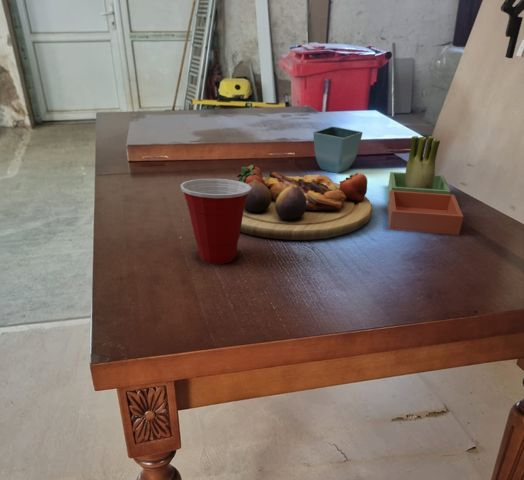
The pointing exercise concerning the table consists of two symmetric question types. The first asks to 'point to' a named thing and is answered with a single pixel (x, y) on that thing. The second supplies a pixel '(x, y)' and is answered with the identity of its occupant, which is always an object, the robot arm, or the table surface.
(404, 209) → the terracotta bin
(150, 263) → the table surface
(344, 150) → the flower pot
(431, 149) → the fennel bulb
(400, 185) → the green bin
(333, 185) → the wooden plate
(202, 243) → the plastic cup
